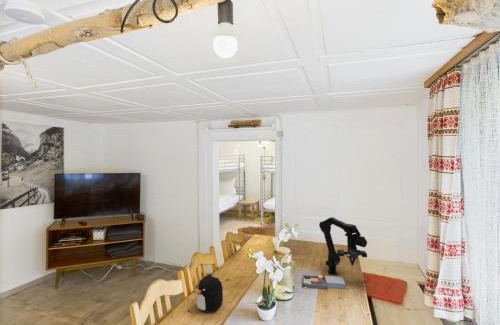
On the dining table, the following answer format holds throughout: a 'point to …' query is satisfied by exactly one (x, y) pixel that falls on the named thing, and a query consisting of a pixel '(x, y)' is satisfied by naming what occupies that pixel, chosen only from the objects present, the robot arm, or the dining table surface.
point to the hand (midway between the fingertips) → (352, 265)
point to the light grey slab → (335, 282)
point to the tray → (318, 286)
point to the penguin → (209, 293)
